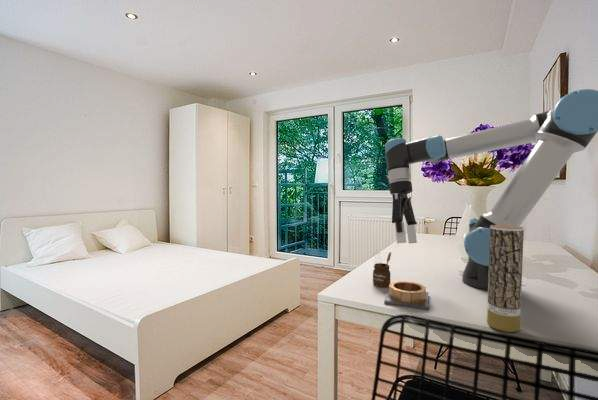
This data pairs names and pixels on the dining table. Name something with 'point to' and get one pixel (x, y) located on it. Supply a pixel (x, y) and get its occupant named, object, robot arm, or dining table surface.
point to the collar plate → (407, 295)
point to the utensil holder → (381, 273)
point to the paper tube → (505, 277)
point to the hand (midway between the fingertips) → (407, 243)
